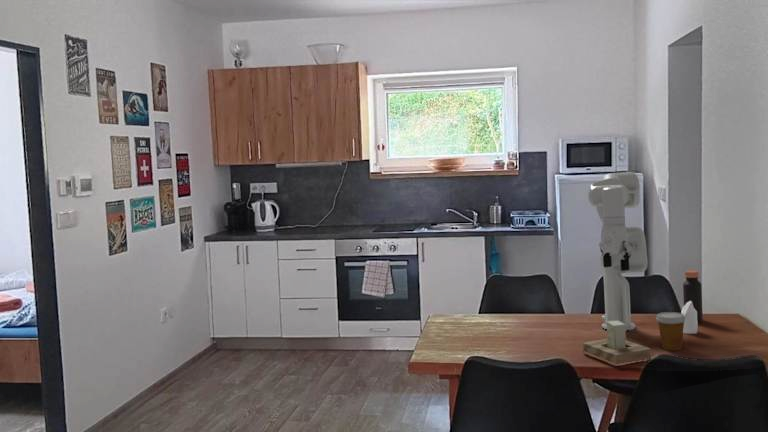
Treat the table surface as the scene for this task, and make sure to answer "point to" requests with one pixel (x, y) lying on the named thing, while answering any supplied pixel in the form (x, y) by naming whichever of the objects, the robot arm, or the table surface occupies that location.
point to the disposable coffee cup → (671, 330)
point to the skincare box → (616, 335)
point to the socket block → (618, 351)
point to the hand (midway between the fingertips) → (616, 268)
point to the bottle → (693, 292)
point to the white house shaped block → (689, 318)
